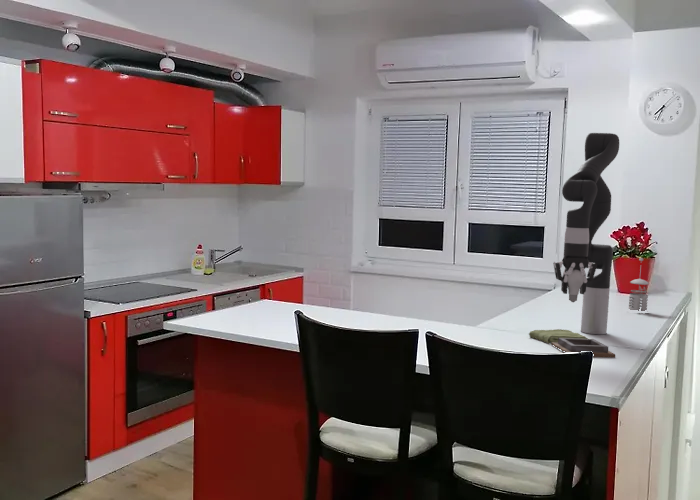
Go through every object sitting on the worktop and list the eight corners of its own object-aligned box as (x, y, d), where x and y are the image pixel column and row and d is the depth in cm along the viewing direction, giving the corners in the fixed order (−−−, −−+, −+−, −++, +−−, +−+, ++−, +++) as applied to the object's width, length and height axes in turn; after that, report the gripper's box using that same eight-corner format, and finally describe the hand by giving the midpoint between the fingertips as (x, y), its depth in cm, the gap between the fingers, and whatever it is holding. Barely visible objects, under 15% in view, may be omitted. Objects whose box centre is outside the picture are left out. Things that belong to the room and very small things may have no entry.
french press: (645, 311, 322) (649, 257, 320) (653, 315, 310) (657, 259, 308) (623, 309, 323) (627, 256, 321) (630, 314, 311) (634, 258, 309)
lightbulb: (562, 302, 224) (564, 268, 223) (564, 300, 230) (566, 267, 229) (581, 304, 222) (584, 270, 221) (583, 302, 228) (585, 268, 226)
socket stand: (551, 345, 234) (551, 336, 234) (594, 346, 235) (595, 337, 234) (568, 356, 218) (569, 346, 218) (615, 357, 219) (615, 348, 218)
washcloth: (591, 343, 242) (591, 334, 241) (548, 345, 236) (549, 336, 235) (566, 336, 254) (567, 327, 254) (526, 337, 248) (526, 328, 248)
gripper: (593, 241, 228) (590, 292, 230) (550, 240, 228) (547, 291, 229) (603, 243, 221) (599, 296, 222) (558, 242, 220) (555, 294, 222)
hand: (573, 293), depth 226 cm, fingers closed on lightbulb, 5 cm apart
